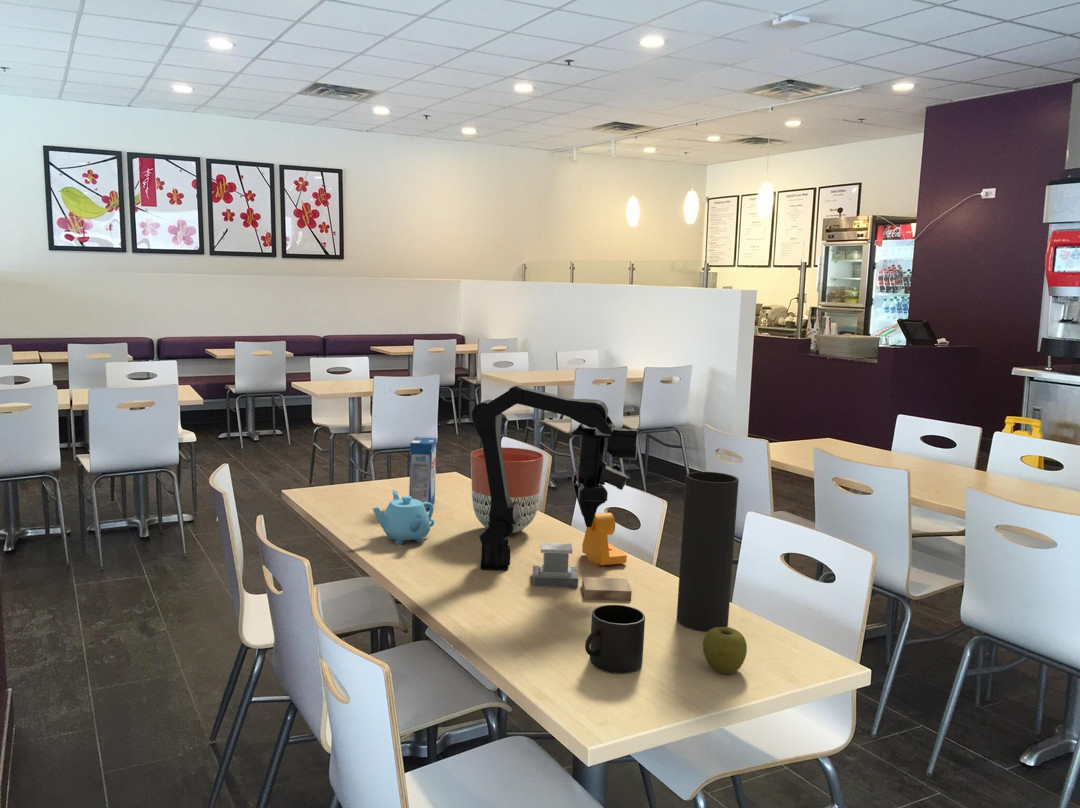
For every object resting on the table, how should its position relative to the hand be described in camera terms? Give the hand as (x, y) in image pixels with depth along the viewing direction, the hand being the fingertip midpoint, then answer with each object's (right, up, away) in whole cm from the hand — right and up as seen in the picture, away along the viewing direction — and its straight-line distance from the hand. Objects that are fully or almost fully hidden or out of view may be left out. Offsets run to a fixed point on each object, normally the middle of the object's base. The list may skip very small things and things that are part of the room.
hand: (586, 521), depth 196 cm
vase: (+22, -17, -24) cm, 37 cm away
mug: (+2, -19, -46) cm, 50 cm away
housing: (-7, -11, -3) cm, 14 cm away
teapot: (-46, -8, +23) cm, 52 cm away
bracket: (+5, -12, +13) cm, 18 cm away
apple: (+22, -20, -46) cm, 55 cm away
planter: (-20, -8, +34) cm, 40 cm away
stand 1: (-7, -13, -3) cm, 15 cm away
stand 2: (+4, -14, -10) cm, 18 cm away
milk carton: (-46, -4, +57) cm, 73 cm away
